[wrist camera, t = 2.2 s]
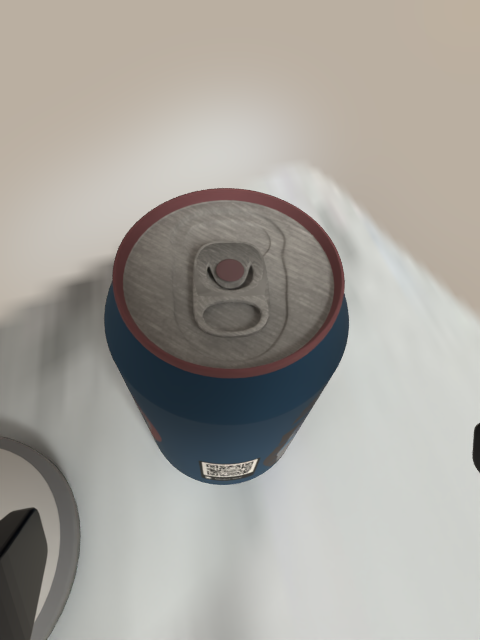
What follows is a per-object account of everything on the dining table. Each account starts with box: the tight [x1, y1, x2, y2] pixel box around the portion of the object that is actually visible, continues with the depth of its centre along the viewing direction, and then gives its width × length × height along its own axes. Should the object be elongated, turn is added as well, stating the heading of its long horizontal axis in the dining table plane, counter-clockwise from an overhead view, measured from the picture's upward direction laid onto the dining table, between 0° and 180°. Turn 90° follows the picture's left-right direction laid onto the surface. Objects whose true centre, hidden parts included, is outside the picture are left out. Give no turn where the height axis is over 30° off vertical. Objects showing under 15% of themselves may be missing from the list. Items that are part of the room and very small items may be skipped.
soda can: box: [104, 188, 349, 485], centre depth 15 cm, size 7×7×12 cm
